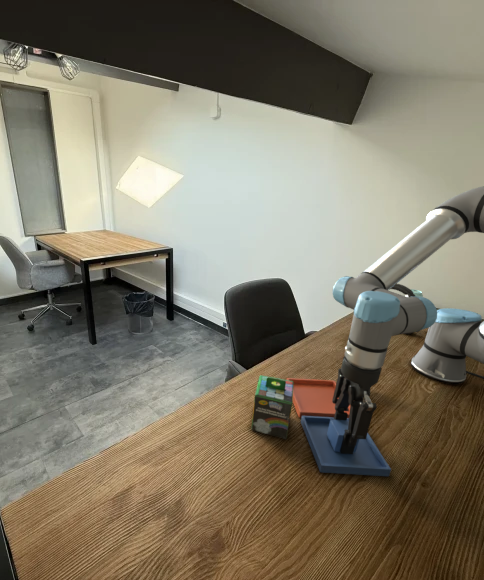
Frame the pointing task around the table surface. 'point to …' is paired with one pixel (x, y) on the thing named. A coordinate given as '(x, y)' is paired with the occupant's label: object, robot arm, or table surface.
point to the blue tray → (331, 461)
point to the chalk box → (272, 406)
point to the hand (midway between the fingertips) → (341, 442)
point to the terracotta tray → (314, 397)
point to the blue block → (338, 433)
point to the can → (416, 293)
